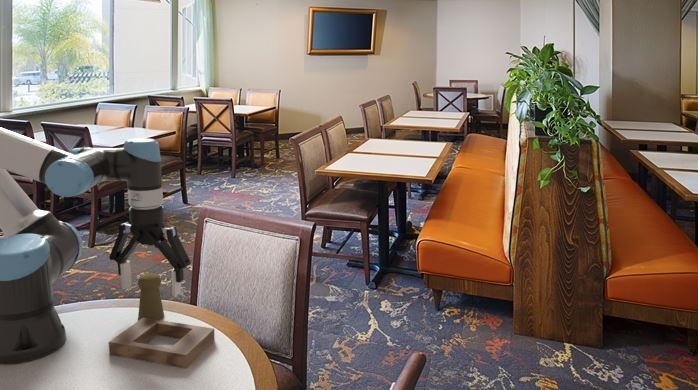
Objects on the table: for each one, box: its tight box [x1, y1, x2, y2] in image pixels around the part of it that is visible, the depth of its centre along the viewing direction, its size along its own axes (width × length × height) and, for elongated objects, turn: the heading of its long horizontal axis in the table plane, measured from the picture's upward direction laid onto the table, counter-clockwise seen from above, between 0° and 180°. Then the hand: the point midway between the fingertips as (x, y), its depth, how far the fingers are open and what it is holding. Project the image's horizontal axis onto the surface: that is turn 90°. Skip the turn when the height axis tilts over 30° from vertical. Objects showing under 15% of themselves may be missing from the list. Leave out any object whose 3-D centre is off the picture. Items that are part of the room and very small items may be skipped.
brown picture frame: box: [108, 318, 216, 369], centre depth 115 cm, size 18×12×3 cm, turn 77°
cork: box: [137, 272, 165, 321], centre depth 128 cm, size 6×6×11 cm
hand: (151, 291), depth 127 cm, fingers open, 13 cm apart
